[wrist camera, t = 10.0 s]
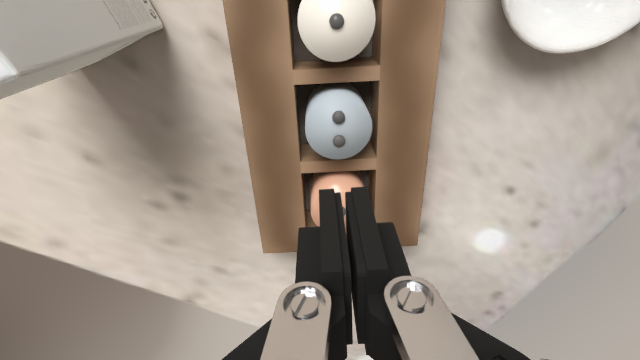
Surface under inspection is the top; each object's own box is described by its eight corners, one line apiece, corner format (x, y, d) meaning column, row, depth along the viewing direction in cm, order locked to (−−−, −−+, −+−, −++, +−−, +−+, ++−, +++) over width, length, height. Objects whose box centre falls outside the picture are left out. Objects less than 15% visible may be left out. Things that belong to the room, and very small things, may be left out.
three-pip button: (362, 159, 31) (371, 184, 27) (362, 204, 33) (369, 234, 29) (309, 161, 31) (308, 188, 27) (312, 207, 33) (312, 237, 29)
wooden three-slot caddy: (435, -73, 23) (455, -83, 20) (407, 222, 34) (417, 245, 31) (224, -62, 23) (211, -70, 20) (267, 229, 34) (263, 253, 31)
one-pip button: (366, -24, 24) (377, -27, 20) (364, 49, 26) (374, 60, 22) (296, -20, 24) (294, -23, 20) (301, 52, 26) (300, 64, 22)
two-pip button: (364, 79, 27) (373, 94, 23) (363, 135, 30) (371, 158, 26) (303, 82, 27) (302, 98, 23) (307, 138, 30) (307, 162, 26)
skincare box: (117, -60, 23) (-140, -127, 10) (169, 31, 26) (23, 75, 12) (17, -7, 24) (-328, -2, 11) (76, 75, 27) (-143, 156, 14)
